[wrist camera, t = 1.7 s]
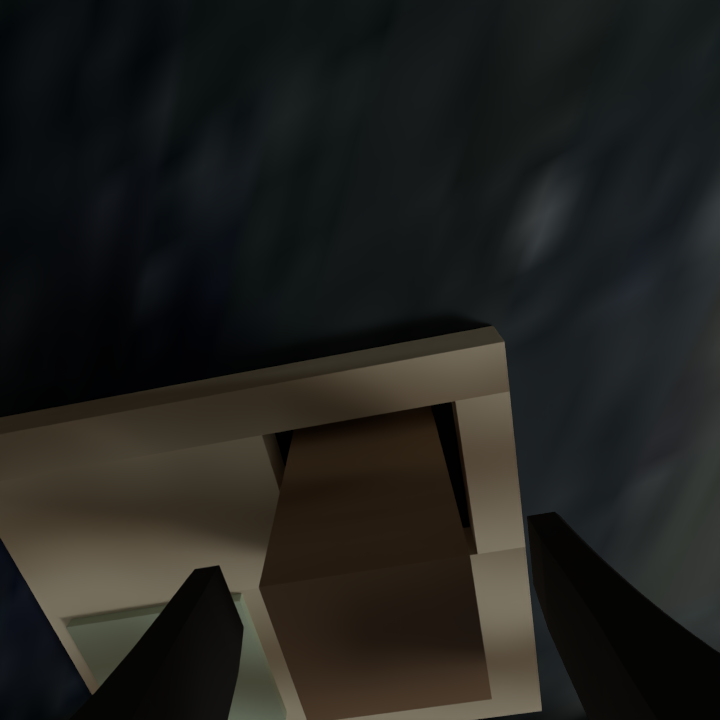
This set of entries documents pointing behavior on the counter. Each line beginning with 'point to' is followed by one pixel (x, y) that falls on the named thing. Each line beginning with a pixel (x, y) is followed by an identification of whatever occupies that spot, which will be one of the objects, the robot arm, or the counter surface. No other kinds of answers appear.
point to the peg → (373, 571)
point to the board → (251, 506)
